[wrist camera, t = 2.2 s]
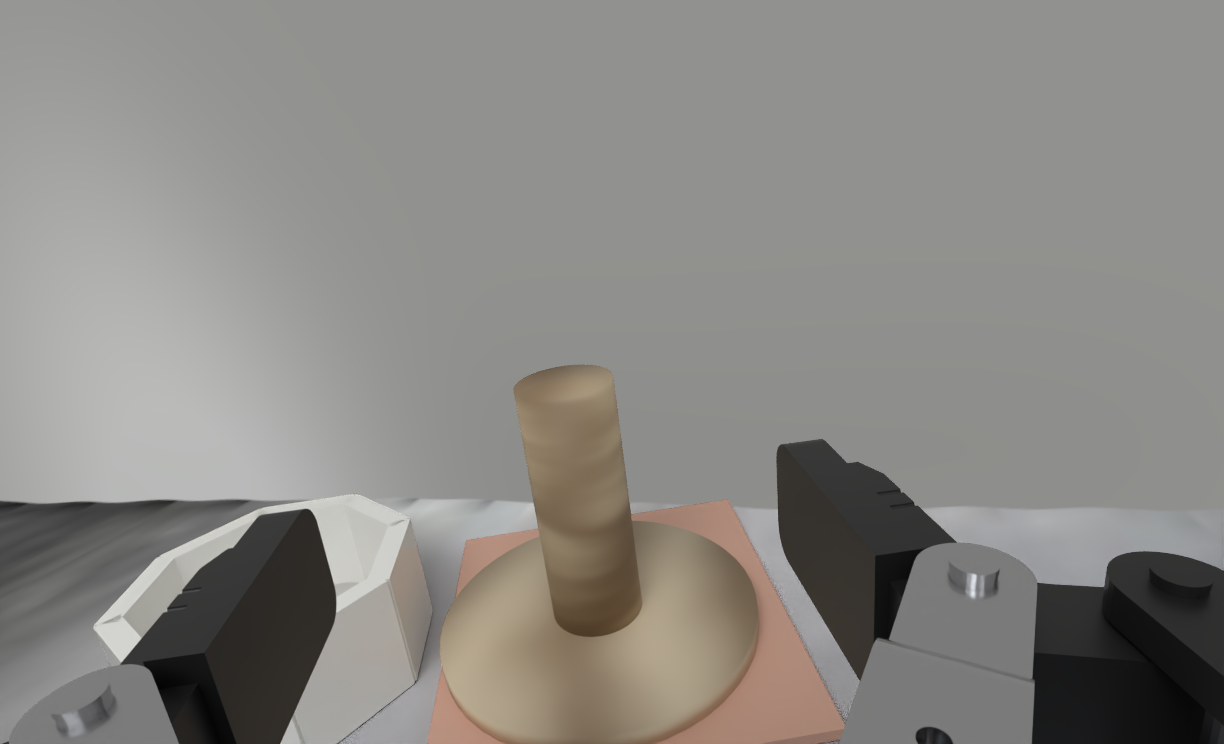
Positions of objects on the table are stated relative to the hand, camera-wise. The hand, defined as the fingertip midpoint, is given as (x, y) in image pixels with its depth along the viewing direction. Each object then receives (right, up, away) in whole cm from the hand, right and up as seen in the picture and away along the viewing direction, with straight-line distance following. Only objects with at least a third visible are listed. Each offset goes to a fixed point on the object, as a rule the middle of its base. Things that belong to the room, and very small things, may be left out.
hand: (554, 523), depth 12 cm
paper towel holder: (+1, -7, +15) cm, 16 cm away
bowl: (-11, -9, +15) cm, 21 cm away
